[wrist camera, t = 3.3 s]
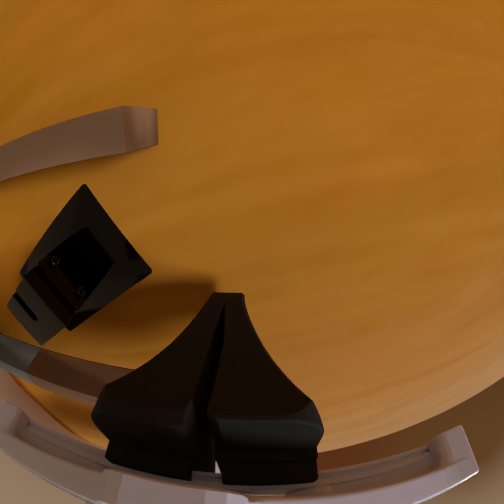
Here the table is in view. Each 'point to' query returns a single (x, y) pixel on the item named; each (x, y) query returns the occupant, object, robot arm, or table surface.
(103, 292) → the black holder block
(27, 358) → the bay
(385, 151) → the table surface
